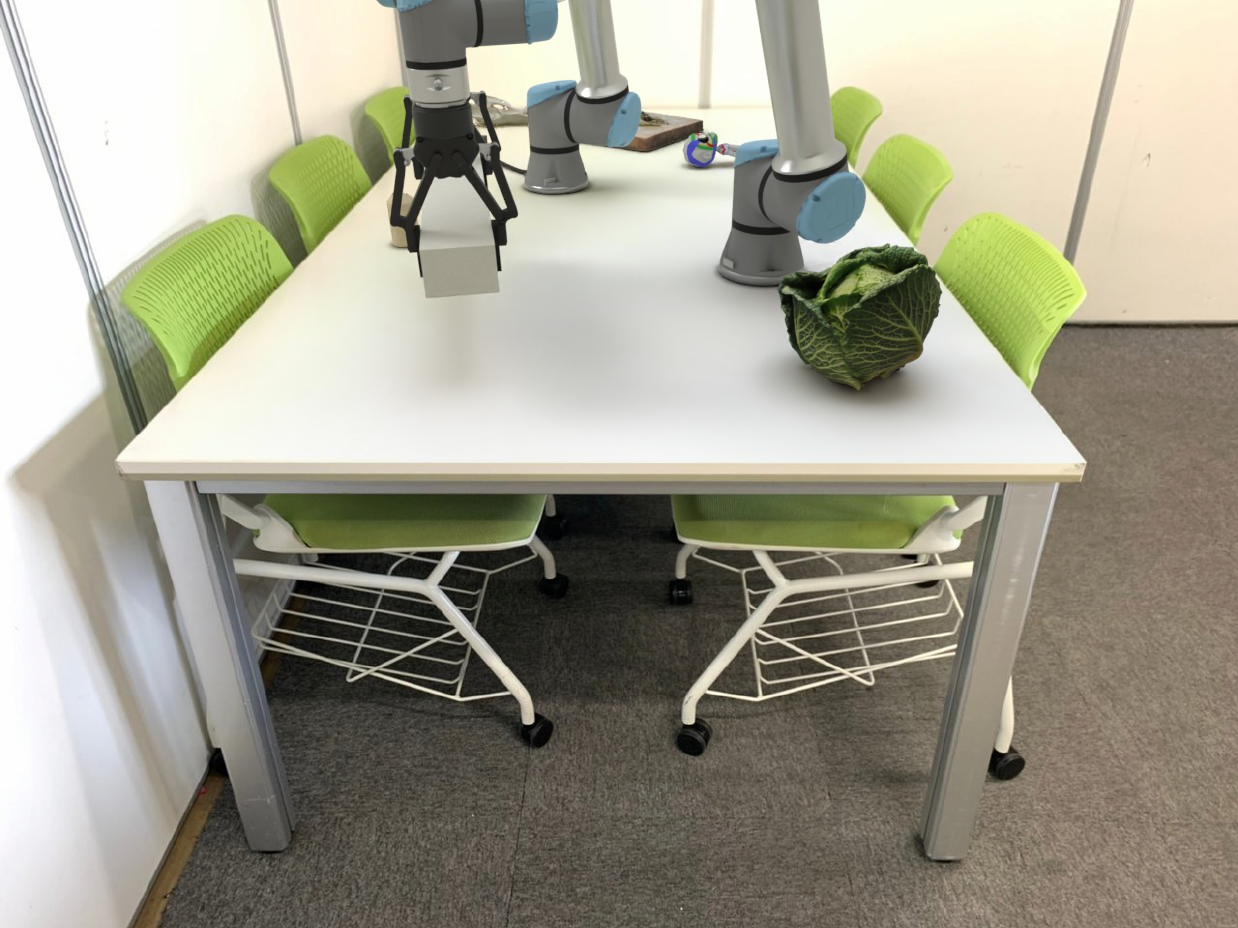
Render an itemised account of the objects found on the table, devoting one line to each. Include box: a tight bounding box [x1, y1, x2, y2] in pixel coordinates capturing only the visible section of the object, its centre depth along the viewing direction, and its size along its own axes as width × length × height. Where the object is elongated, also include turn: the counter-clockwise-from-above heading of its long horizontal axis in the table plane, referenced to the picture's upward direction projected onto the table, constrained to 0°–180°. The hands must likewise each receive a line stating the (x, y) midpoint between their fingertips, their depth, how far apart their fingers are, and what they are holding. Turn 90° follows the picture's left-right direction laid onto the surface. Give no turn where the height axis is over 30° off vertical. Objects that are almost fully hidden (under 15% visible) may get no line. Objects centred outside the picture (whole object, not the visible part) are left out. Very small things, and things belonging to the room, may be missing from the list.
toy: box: [682, 131, 741, 168], centre depth 228 cm, size 10×8×30 cm
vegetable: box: [777, 242, 943, 392], centre depth 124 cm, size 20×19×20 cm
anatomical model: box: [469, 94, 528, 126], centre depth 274 cm, size 15×9×25 cm
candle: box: [385, 192, 419, 248], centre depth 178 cm, size 6×6×10 cm
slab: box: [419, 153, 500, 299], centre depth 140 cm, size 55×10×7 cm, turn 10°
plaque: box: [618, 109, 705, 152], centre depth 257 cm, size 30×7×30 cm
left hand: (456, 195), depth 158 cm, fingers closed on slab, 10 cm apart
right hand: (461, 271), depth 125 cm, fingers closed on slab, 10 cm apart
